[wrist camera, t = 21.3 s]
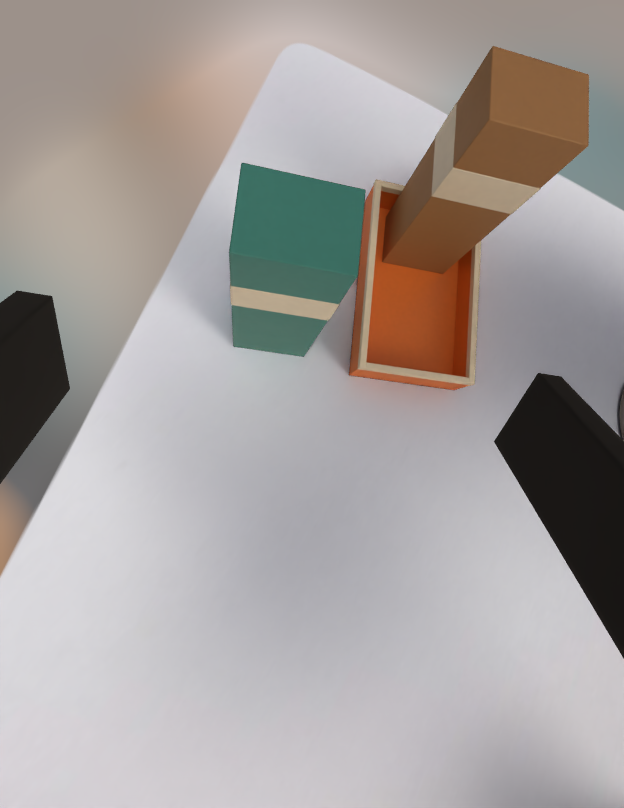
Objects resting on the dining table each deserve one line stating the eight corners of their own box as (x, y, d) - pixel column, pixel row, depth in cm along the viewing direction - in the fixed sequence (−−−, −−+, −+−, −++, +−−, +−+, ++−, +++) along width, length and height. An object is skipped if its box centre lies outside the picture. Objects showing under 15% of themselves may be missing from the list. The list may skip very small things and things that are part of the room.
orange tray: (463, 223, 39) (483, 203, 36) (454, 390, 37) (474, 384, 34) (364, 201, 37) (375, 179, 34) (348, 375, 35) (359, 367, 32)
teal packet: (309, 306, 35) (366, 188, 20) (304, 357, 35) (358, 276, 19) (239, 295, 34) (240, 161, 19) (232, 346, 34) (228, 253, 18)
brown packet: (445, 229, 38) (589, 73, 23) (443, 274, 38) (589, 146, 22) (385, 216, 37) (492, 44, 22) (381, 262, 37) (488, 119, 21)
